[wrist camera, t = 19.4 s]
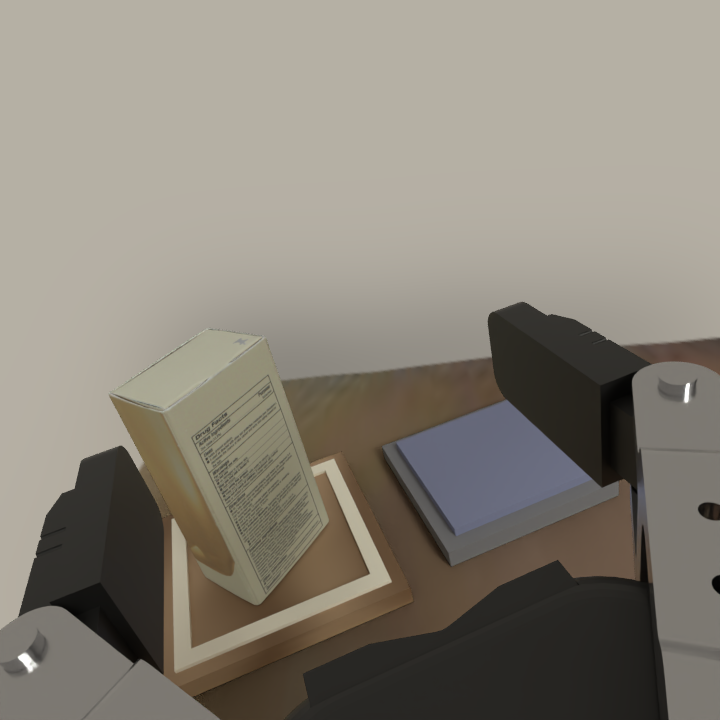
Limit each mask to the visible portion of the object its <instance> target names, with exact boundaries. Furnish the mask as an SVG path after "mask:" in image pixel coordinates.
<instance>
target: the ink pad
mask: <svg viewBox="0 0 720 720" xmlns="http://www.w3.org/2000/svg"><path fill="white" fill-rule="evenodd" d="M382 449H383V454H384V458H385V460H386V461H387V463H388V464H389V466H390V468H391V469H392V471H393V473H394V474H395V476H396V478H397V479H398V481H399V482H400V484H401V486H402V487H403V489H404V491H405V492H406V494H407V495H408V497H409V499H410V500H411V502H412V504H413V505H414V507H415V508H416V510H417V512H418V513H419V515H420V517H421V518H422V520H423V522H424V523H425V525H426V526H427V528H428V530H429V531H430V533H431V535H432V536H433V538H434V539H435V541H436V543H437V544H438V546H439V548H440V549H441V551H442V552H443V554H444V556H445V557H446V559H447V561H448V562H449V564H450V565H451V567H452V566H454V565H456V564H459V563H461V562H463V561H466V560H468V559H470V558H473V557H475V556H477V555H480V554H482V553H484V552H487V551H489V550H491V549H494V548H496V547H499V546H501V545H503V544H506V543H508V542H510V541H513V540H515V539H517V538H520V537H522V536H524V535H527V534H529V533H531V532H534V531H536V530H538V529H541V528H543V527H545V526H548V525H550V524H552V523H555V522H557V521H560V520H562V519H564V518H567V517H569V516H571V515H574V514H576V513H578V512H581V511H583V510H585V509H588V508H590V507H592V506H595V505H597V504H599V503H602V502H604V501H606V500H609V499H611V498H613V497H616V496H618V495H619V481H617V482H615V483H612V484H610V485H608V486H605V487H603V488H601V487H600V486H599V485H598V484H597V483H596V482H595V481H594V480H593V479H592V478H591V477H590V476H589V475H587V474H586V473H585V472H584V471H583V470H582V469H581V468H580V467H579V466H578V465H577V464H576V463H575V462H573V461H572V460H571V459H570V458H569V457H568V456H567V455H566V454H565V453H564V452H563V451H562V450H560V449H559V448H558V447H557V446H556V445H555V444H554V443H553V442H552V441H551V440H550V439H549V438H548V437H546V436H545V435H544V434H543V433H542V432H541V431H540V430H539V429H538V428H537V427H536V426H535V425H534V424H532V423H531V422H530V421H529V420H528V419H527V418H526V417H525V416H524V415H523V414H522V413H521V412H520V411H518V410H517V409H516V408H515V407H514V406H513V405H512V404H511V403H510V402H509V401H508V400H507V399H506V400H503V401H501V402H498V403H495V404H493V405H490V406H487V407H485V408H482V409H479V410H477V411H474V412H471V413H469V414H466V415H463V416H461V417H458V418H456V419H453V420H450V421H448V422H445V423H442V424H440V425H437V426H434V427H432V428H429V429H426V430H424V431H421V432H418V433H416V434H413V435H410V436H408V437H405V438H402V439H400V440H397V441H394V442H392V443H389V444H386V445H384V446H382Z"/></svg>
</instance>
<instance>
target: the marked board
mask: <svg viewBox="0 0 720 720" xmlns="http://www.w3.org/2000/svg"><path fill="white" fill-rule="evenodd" d="M310 466H311V469H312V472H313V475H314V478H315V481H316V484H317V486H318V489H319V492H320V495H321V498H322V501H323V504H324V506H325V510H326V512H327V515H328V518H329V522H328V524H327V525H326V526H325V527H324V529H323V530H322V531H321V532H320V534H319V535H318V536H317V538H316V539H315V540H314V541H313V542H312V544H311V545H310V546H309V547H308V549H307V550H306V551H305V552H304V554H303V555H302V556H301V557H300V558H299V560H298V561H297V562H296V563H295V564H294V566H293V567H292V568H291V569H290V570H289V572H288V573H287V574H286V575H285V577H284V578H283V579H282V580H281V581H280V582H279V584H278V585H277V586H276V587H275V588H274V589H273V591H272V592H271V593H270V594H269V595H268V596H267V597H266V599H265V600H264V601H263V602H262V603H261V604H259V605H254V604H252V603H250V602H248V601H246V600H244V599H242V598H240V597H239V596H237V595H235V594H233V593H231V592H230V591H228V590H226V589H224V588H223V587H221V586H219V585H218V584H216V583H215V582H213V581H211V580H210V579H208V578H206V577H205V575H204V574H203V572H202V570H201V568H200V566H199V565H198V563H197V561H196V559H195V557H194V555H193V553H192V551H191V549H190V547H189V545H188V543H187V542H186V540H185V538H184V536H183V534H182V532H181V530H180V528H179V527H178V525H177V523H176V521H175V519H174V517H173V515H169V516H167V517H164V518H162V521H163V526H164V674H163V675H164V676H165V677H166V678H168V679H169V680H170V681H172V682H173V683H174V684H175V685H177V686H178V687H179V688H181V689H182V690H183V691H184V692H186V693H187V694H188V695H190V696H191V697H194V696H196V695H198V694H201V693H203V692H205V691H208V690H210V689H212V688H215V687H217V686H219V685H221V684H224V683H226V682H228V681H231V680H233V679H235V678H238V677H240V676H242V675H245V674H247V673H249V672H252V671H254V670H256V669H258V668H261V667H263V666H265V665H268V664H270V663H272V662H275V661H277V660H279V659H282V658H284V657H286V656H289V655H291V654H293V653H295V652H298V651H300V650H302V649H305V648H307V647H309V646H312V645H314V644H316V643H319V642H321V641H323V640H325V639H328V638H330V637H332V636H335V635H337V634H339V633H342V632H344V631H346V630H349V629H351V628H353V627H356V626H358V625H360V624H362V623H365V622H367V621H369V620H372V619H374V618H376V617H379V616H381V615H383V614H386V613H388V612H390V611H393V610H395V609H397V608H399V607H402V606H404V605H406V604H409V603H411V602H413V601H414V600H413V596H412V592H411V588H410V586H409V584H408V582H407V580H406V578H405V576H404V574H403V572H402V570H401V568H400V566H399V564H398V562H397V560H396V558H395V556H394V554H393V552H392V550H391V548H390V546H389V544H388V542H387V540H386V538H385V536H384V534H383V532H382V530H381V528H380V526H379V524H378V522H377V520H376V518H375V516H374V514H373V512H372V510H371V508H370V506H369V504H368V502H367V500H366V499H365V497H364V495H363V493H362V491H361V489H360V487H359V485H358V483H357V481H356V479H355V477H354V475H353V473H352V471H351V469H350V467H349V465H348V463H347V461H346V459H345V457H344V455H343V453H342V451H341V452H339V453H336V454H333V455H330V456H328V457H325V458H322V459H320V460H317V461H314V462H312V463H310Z"/></svg>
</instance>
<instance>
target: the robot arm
mask: <svg viewBox="0 0 720 720" xmlns="http://www.w3.org/2000/svg"><path fill="white" fill-rule="evenodd" d="M488 328H489V336H490V344H491V351H492V360H493V368H494V375H495V379H496V382H497V385H498V387H499V389H500V391H501V393H502V394H503V396H504V397H505V398H506V399H507V400H508V401H509V402H510V403H511V404H512V405H513V406H514V407H515V408H516V409H517V410H518V411H520V412H521V413H522V414H523V415H524V416H525V417H526V418H527V419H528V420H529V421H530V422H531V423H532V424H534V425H535V426H536V427H537V428H538V429H539V430H540V431H541V432H542V433H543V434H544V435H545V436H546V437H548V438H549V439H550V440H551V441H552V442H553V443H554V444H555V445H556V446H557V447H558V448H559V449H560V450H562V451H563V452H564V453H565V454H566V455H567V456H568V457H569V458H570V459H571V460H572V461H573V462H575V463H576V464H577V465H578V466H579V467H580V468H581V469H582V470H583V471H584V472H585V473H586V474H587V475H589V476H590V477H591V478H592V479H593V480H594V481H595V482H596V483H597V484H598V485H599V486H600V487H601V488H603V487H605V486H608V485H610V484H612V483H615V482H617V481H619V480H622V479H625V480H626V481H627V482H628V483H630V505H631V521H632V537H633V553H634V570H635V580H632V579H626V578H618V577H604V576H592V577H579V578H572V576H571V575H570V574H569V573H568V572H567V570H566V569H565V568H564V567H563V566H562V564H561V563H560V562H559V561H558V560H557V561H554V562H552V563H550V564H548V565H545V566H543V567H541V568H539V569H536V570H534V571H532V572H530V573H527V574H525V575H523V576H521V577H518V578H516V579H514V580H512V581H510V582H507V583H505V584H503V585H501V586H499V587H497V588H496V589H495V590H494V591H492V592H491V593H490V594H489V595H487V596H486V597H485V598H484V599H482V600H481V601H480V602H478V603H477V604H476V605H475V606H473V607H472V608H471V609H470V610H468V611H467V612H466V613H465V614H463V615H462V616H461V617H460V618H458V619H457V620H456V621H455V622H453V623H452V624H451V625H450V626H448V627H447V628H445V629H443V630H441V631H437V632H433V633H427V634H422V635H416V636H411V637H406V638H400V639H395V640H389V641H384V642H378V643H373V644H368V645H366V646H364V647H362V648H360V649H357V650H355V651H353V652H351V653H348V654H346V655H344V656H342V657H339V658H337V659H335V660H333V661H330V662H328V663H326V664H324V665H321V666H319V667H317V668H315V669H313V670H310V671H308V672H306V673H304V674H303V676H304V681H305V685H306V689H307V694H308V698H307V699H306V700H305V701H303V702H302V703H301V704H300V705H298V706H297V707H296V708H295V709H294V710H293V711H292V712H291V713H290V714H289V715H288V716H287V717H286V718H285V719H284V720H720V376H719V375H718V374H717V373H715V372H714V371H712V370H710V369H708V368H706V367H703V366H700V365H697V364H692V363H686V362H662V363H656V364H650V363H649V362H647V361H645V360H643V359H642V358H640V357H638V356H637V355H635V354H633V353H631V352H630V351H628V350H626V349H624V348H623V347H621V346H619V345H618V344H616V343H614V342H612V341H611V340H606V338H605V337H604V336H602V335H600V334H599V333H597V332H592V330H591V329H590V328H588V327H586V326H585V325H583V324H581V323H579V322H578V321H576V320H574V319H570V318H565V317H561V316H557V315H553V314H551V315H548V316H547V315H545V314H543V313H542V312H540V311H538V310H537V309H535V308H534V307H532V306H530V305H529V304H527V303H525V302H520V303H517V304H514V305H511V306H508V307H506V308H503V309H500V310H497V311H495V312H492V313H490V315H489V317H488ZM40 537H41V540H40V541H39V544H38V547H37V551H36V556H37V558H35V559H34V562H33V565H32V569H31V572H30V576H29V580H28V584H27V587H26V591H25V595H24V598H23V601H22V605H21V609H20V613H19V616H18V618H17V619H15V620H13V621H12V622H10V623H9V624H8V625H6V626H5V627H4V628H3V629H1V630H0V720H220V719H219V718H218V717H217V716H215V715H214V714H213V713H211V712H210V711H209V710H208V709H206V708H205V707H204V706H202V705H201V704H200V703H199V702H197V701H196V700H195V699H193V698H192V697H191V696H190V695H188V694H187V693H186V692H184V691H183V690H182V689H181V688H179V687H178V686H177V685H175V684H174V683H173V682H172V681H170V680H169V679H168V678H166V677H165V676H164V675H163V674H164V526H163V521H162V517H161V514H160V511H159V508H158V506H157V503H156V501H155V500H154V498H153V496H152V494H151V492H150V491H149V489H148V487H147V485H146V483H145V482H144V480H143V478H142V476H141V474H140V473H139V471H138V469H137V467H136V465H135V464H134V462H133V460H132V458H131V456H130V455H129V453H128V452H127V450H126V449H125V448H124V447H123V446H118V447H115V448H113V449H110V450H107V451H105V452H101V453H99V454H96V455H93V456H90V457H88V458H85V459H83V460H82V461H81V463H80V468H79V472H78V476H77V481H76V485H75V489H73V490H70V491H68V492H65V493H62V494H61V496H60V497H59V499H58V500H57V501H56V503H55V504H54V505H53V507H52V508H51V510H50V511H49V512H48V514H47V515H46V518H45V522H44V525H43V529H42V532H41V536H40Z"/></svg>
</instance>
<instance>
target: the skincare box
mask: <svg viewBox="0 0 720 720" xmlns="http://www.w3.org/2000/svg"><path fill="white" fill-rule="evenodd" d="M109 396H110V398H111V400H112V402H113V404H114V406H115V408H116V409H117V411H118V413H119V415H120V417H121V419H122V421H123V423H124V425H125V426H126V428H127V430H128V432H129V434H130V436H131V438H132V440H133V442H134V444H135V446H136V447H137V449H138V451H139V453H140V455H141V457H142V459H143V461H144V462H145V464H146V466H147V468H148V470H149V472H150V474H151V476H152V477H153V479H154V481H155V483H156V485H157V487H158V489H159V491H160V493H161V495H162V497H163V499H164V500H165V502H166V504H167V506H168V508H169V510H170V512H171V514H172V515H173V517H174V519H175V521H176V523H177V525H178V527H179V528H180V530H181V532H182V534H183V536H184V538H185V540H186V542H187V543H188V545H189V547H190V549H191V551H192V553H193V555H194V557H195V559H196V561H197V563H198V565H199V566H200V568H201V570H202V572H203V574H204V575H205V577H206V578H208V579H210V580H211V581H213V582H215V583H216V584H218V585H219V586H221V587H223V588H224V589H226V590H228V591H230V592H231V593H233V594H235V595H237V596H239V597H240V598H242V599H244V600H246V601H248V602H250V603H252V604H254V605H259V604H261V603H262V602H263V601H264V600H265V599H266V597H267V596H268V595H269V594H270V593H271V592H272V591H273V589H274V588H275V587H276V586H277V585H278V584H279V582H280V581H281V580H282V579H283V578H284V577H285V575H286V574H287V573H288V572H289V570H290V569H291V568H292V567H293V566H294V564H295V563H296V562H297V561H298V560H299V558H300V557H301V556H302V555H303V554H304V552H305V551H306V550H307V549H308V547H309V546H310V545H311V544H312V542H313V541H314V540H315V539H316V538H317V536H318V535H319V534H320V532H321V531H322V530H323V529H324V527H325V526H326V525H327V524H328V522H329V518H328V515H327V512H326V510H325V506H324V504H323V501H322V498H321V495H320V492H319V489H318V486H317V484H316V481H315V478H314V475H313V472H312V469H311V466H310V463H309V461H308V458H307V455H306V452H305V449H304V446H303V443H302V441H301V438H300V435H299V432H298V429H297V426H296V423H295V420H294V417H293V415H292V411H291V409H290V406H289V403H288V400H287V397H286V394H285V391H284V389H283V386H282V383H281V380H280V377H279V374H278V372H277V369H276V366H275V363H274V360H273V357H272V354H271V351H270V348H269V345H268V343H267V340H266V337H265V336H262V335H253V334H247V333H240V332H233V331H227V330H219V329H210V328H208V329H205V330H204V331H202V332H201V333H199V334H197V335H196V336H194V337H193V338H191V339H190V340H188V341H187V342H185V343H183V344H182V345H180V346H179V347H177V348H176V349H174V350H173V351H171V352H170V353H168V354H167V355H165V356H164V357H162V358H161V359H159V360H158V361H156V362H155V363H153V364H152V365H150V366H149V367H147V368H146V369H144V370H143V371H141V372H140V373H138V374H137V375H135V376H134V377H133V378H131V379H130V380H128V381H126V382H125V383H124V384H122V385H121V386H119V387H118V388H116V389H114V390H113V391H111V392H110V393H109Z"/></svg>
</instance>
